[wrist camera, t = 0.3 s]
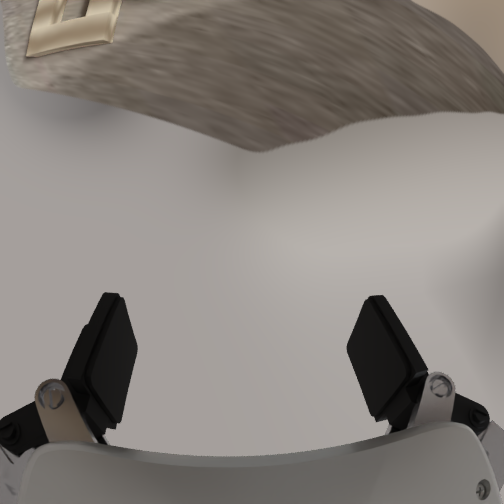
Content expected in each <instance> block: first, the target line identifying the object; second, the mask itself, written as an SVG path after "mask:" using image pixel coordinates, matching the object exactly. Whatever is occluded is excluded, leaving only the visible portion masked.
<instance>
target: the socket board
mask: <svg viewBox="0 0 504 504" xmlns="http://www.w3.org/2000/svg"><path fill="white" fill-rule="evenodd" d="M66 2H67V0H40V1H39V4H38V7H37V11H36V14H35V18H34V22H33V26H32V30H31V34H30V39H29V44H28V49H27V54H26V56H28V57H39V56H43V55H47V54H51V53H56V52H60V51H65V50H70V49H75V48H80V47H86V46H93V45H100V44H108V43H112V41H113V36H114V31H115V27H116V22H117V18H118V14H119V10H120V6H121V3H122V0H90V2H89V6H88V9H87V13H86V16H85V17H80V18H76V19H71V20H67V21H63V22H61V20H62V16H63V12H64V9H65V5H66Z"/></svg>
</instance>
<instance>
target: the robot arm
mask: <svg viewBox="0 0 504 504" xmlns="http://www.w3.org/2000/svg"><path fill="white" fill-rule="evenodd" d="M137 350H138V348H137V342H136V339H135V336H134V333H133V329H132V326H131V322H130V319H129V315H128V312H127V308H126V304H125V300H124V298H123V297H120V296H119V294H118V293H107V292H105V293H103V295H102V297H101V299H100V301H99V303H98V305H97V307H96V309H95V311H94V313H93V315H92V317H91V319H90V321H89V323H88V324H87V325H85V326H84V328H83V329H82V331H81V334H80V336H79V338H78V340H77V342H76V345H75V347H74V349H73V351H72V354H71V356H70V359H69V361H68V363H67V365H66V368H65V370H64V373H63V375H62V378H61V380H59V379H48V380H46V381H44V382H42V383H41V384H40V385H39V386H38V388H37V390H36V392H35V401H34V402H32V403H30V404H28V405H26V406H24V407H22V408H20V409H18V410H16V411H15V412H13V413H11V414H9V415H7V416H5V417H3V418H2V419H1V420H0V504H503V503H502V499H501V496H500V490H501V488H502V486H503V484H504V430H503V429H502V428H500V427H499V426H498V425H497V424H496V423H495V422H494V421H493V420H492V421H491V422H489V420H490V418H489V414H488V412H487V410H486V409H485V408H484V406H482V405H480V404H479V403H476V402H474V401H472V400H470V399H468V398H466V397H463V396H461V395H459V394H457V393H455V385H454V382H453V381H452V379H451V378H450V377H449V376H448V375H446V374H444V373H442V372H433V373H431V374H430V375H429V374H428V372H427V371H428V368H427V366H426V364H425V363H424V361H423V359H422V357H421V355H420V354H419V352H418V350H417V348H416V347H415V345H414V344H413V342H412V340H411V338H410V337H409V335H408V333H407V331H406V330H405V328H404V327H403V325H402V323H401V322H400V320H399V318H398V317H397V315H396V314H395V312H394V310H393V309H392V307H391V306H390V304H389V302H388V301H387V299H386V298H385V297H384V296H383V295H376V296H370V297H368V299H367V300H365V301H364V304H363V306H362V309H361V311H360V314H359V317H358V319H357V322H356V324H355V326H354V329H353V331H352V334H351V336H350V338H349V341H348V343H347V353H348V355H349V358H350V361H351V363H352V366H353V369H354V371H355V374H356V376H357V379H358V382H359V384H360V387H361V389H362V393H363V395H364V398H365V401H366V404H367V406H368V409H369V412H370V414H371V416H374V418H375V420H376V422H379V421H383V420H386V419H388V422H389V426H388V428H387V431H386V433H385V435H384V436H380V437H376V438H372V439H368V440H364V441H360V442H355V443H351V444H346V445H341V446H336V447H331V448H325V449H318V450H312V451H305V452H297V453H288V454H277V455H265V456H241V457H213V456H190V455H177V454H166V453H158V452H149V451H142V450H135V449H128V448H123V447H116V446H111V445H110V444H109V443H108V441H107V439H106V437H105V436H104V434H105V432H106V428H110V429H116V425H117V423H120V422H121V420H122V415H123V411H124V406H125V401H126V396H127V392H128V387H129V383H130V379H131V375H132V371H133V367H134V363H135V359H136V356H137Z"/></svg>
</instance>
